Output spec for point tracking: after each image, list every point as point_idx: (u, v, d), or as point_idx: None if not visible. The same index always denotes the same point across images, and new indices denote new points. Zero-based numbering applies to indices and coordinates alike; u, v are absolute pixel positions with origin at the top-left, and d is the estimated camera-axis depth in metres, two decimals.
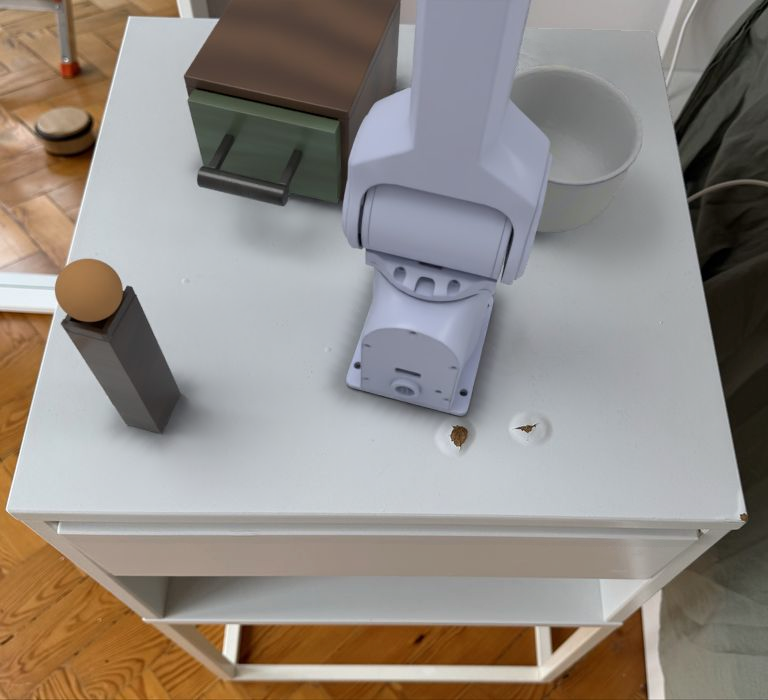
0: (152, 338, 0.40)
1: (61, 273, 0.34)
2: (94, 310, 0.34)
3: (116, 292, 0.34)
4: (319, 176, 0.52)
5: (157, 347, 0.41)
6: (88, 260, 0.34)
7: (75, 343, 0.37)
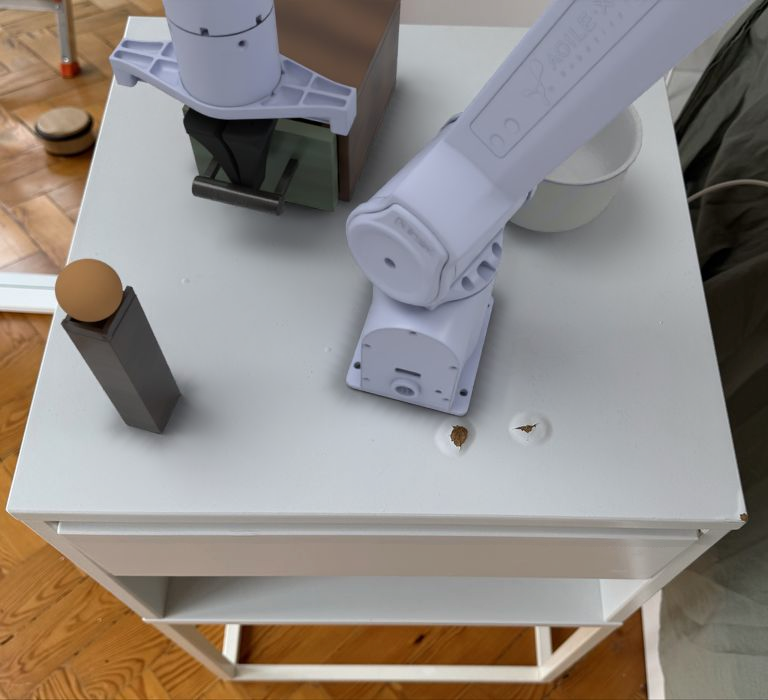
0: (152, 338, 0.40)
1: (61, 273, 0.34)
2: (94, 310, 0.34)
3: (116, 292, 0.34)
4: (315, 185, 0.51)
5: (157, 347, 0.41)
6: (88, 260, 0.34)
7: (75, 343, 0.37)
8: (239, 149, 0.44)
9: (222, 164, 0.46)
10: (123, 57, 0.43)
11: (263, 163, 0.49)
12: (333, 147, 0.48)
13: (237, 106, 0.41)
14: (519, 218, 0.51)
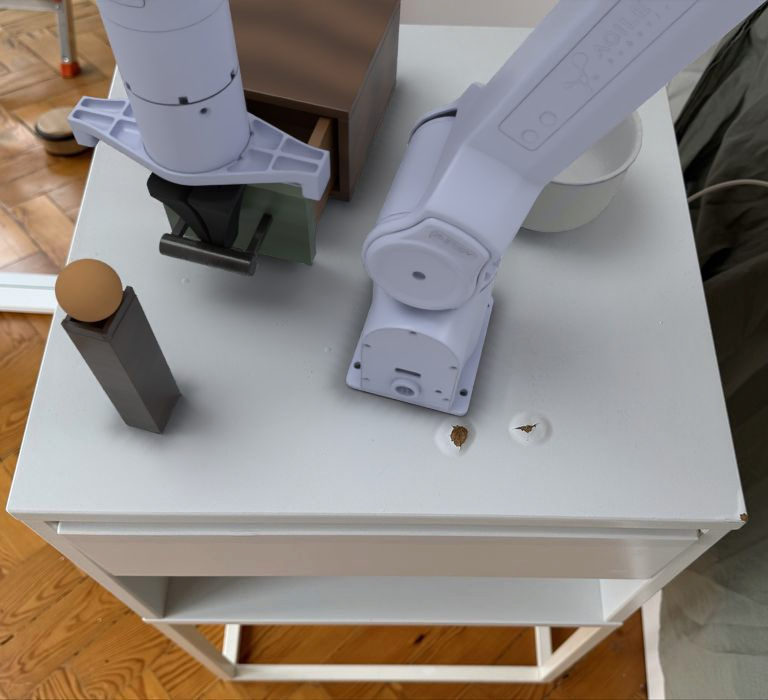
0: (152, 338, 0.40)
1: (61, 273, 0.34)
2: (94, 310, 0.34)
3: (116, 292, 0.34)
4: (291, 239, 0.49)
5: (157, 347, 0.41)
6: (88, 260, 0.34)
7: (75, 343, 0.37)
8: (207, 212, 0.41)
9: (190, 225, 0.44)
10: (83, 117, 0.40)
11: (235, 220, 0.46)
12: (309, 203, 0.46)
13: (202, 172, 0.38)
14: None
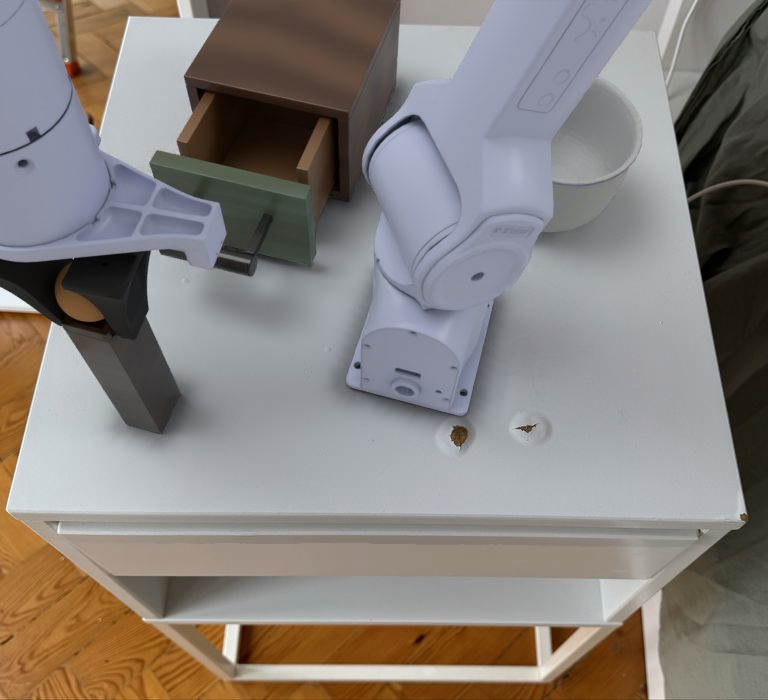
0: (152, 338, 0.40)
1: (61, 273, 0.34)
2: (94, 310, 0.34)
3: None
4: (291, 240, 0.49)
5: (157, 347, 0.41)
6: None
7: (75, 343, 0.37)
8: (93, 297, 0.31)
9: (23, 298, 0.33)
10: None
11: (141, 295, 0.36)
12: (308, 203, 0.46)
13: (40, 244, 0.27)
14: None
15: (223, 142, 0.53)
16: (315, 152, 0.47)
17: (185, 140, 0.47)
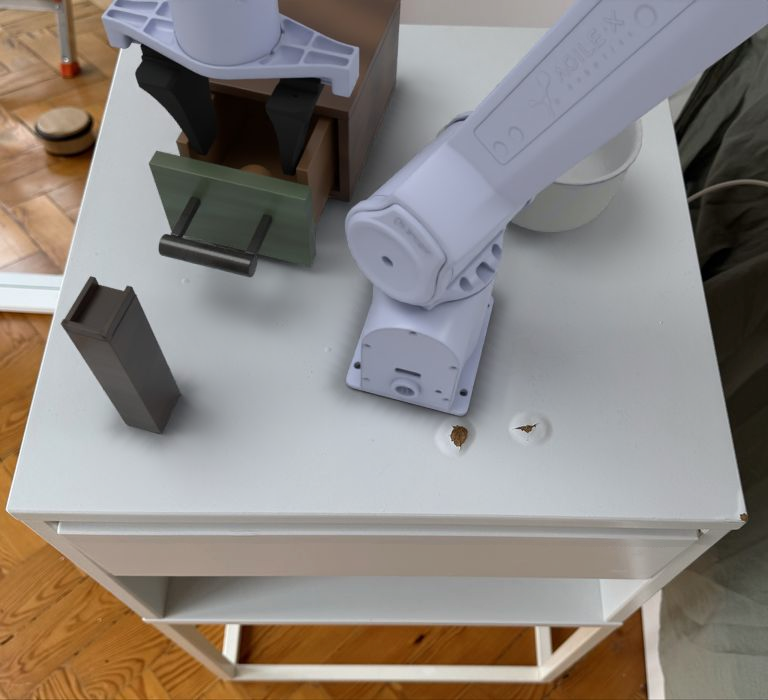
0: (152, 338, 0.40)
1: None
2: None
3: None
4: (290, 240, 0.49)
5: (157, 347, 0.41)
6: (256, 165, 0.50)
7: (75, 343, 0.37)
8: (282, 123, 0.42)
9: (179, 122, 0.45)
10: (116, 17, 0.41)
11: (302, 140, 0.47)
12: (308, 204, 0.46)
13: (235, 65, 0.39)
14: (519, 218, 0.51)
15: (223, 142, 0.53)
16: (315, 153, 0.47)
17: (185, 141, 0.47)
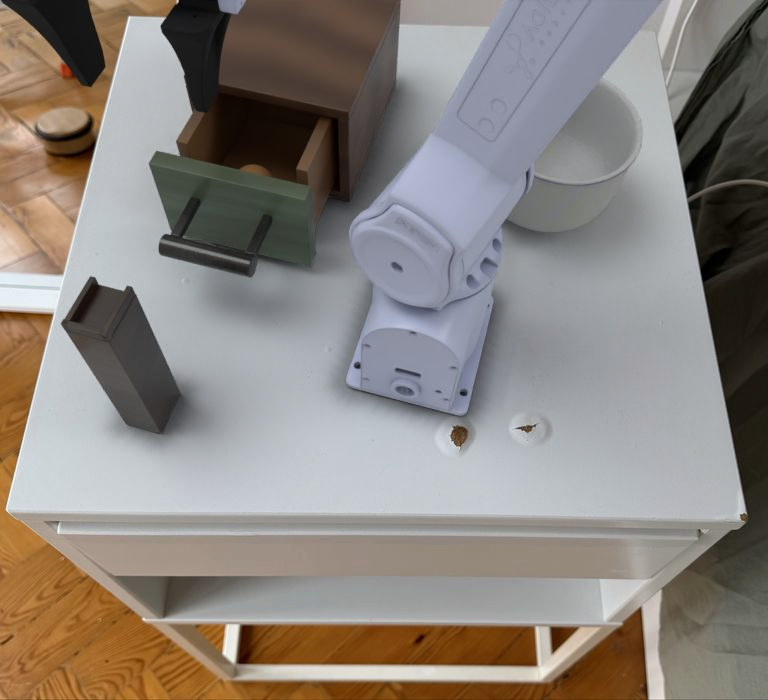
0: (152, 338, 0.40)
1: None
2: None
3: None
4: (290, 240, 0.49)
5: (157, 347, 0.41)
6: (255, 165, 0.50)
7: (75, 343, 0.37)
8: (182, 47, 0.39)
9: (54, 46, 0.42)
10: None
11: (215, 74, 0.44)
12: (308, 204, 0.46)
13: None
14: (519, 218, 0.51)
15: (223, 142, 0.53)
16: (315, 153, 0.47)
17: (185, 141, 0.47)
